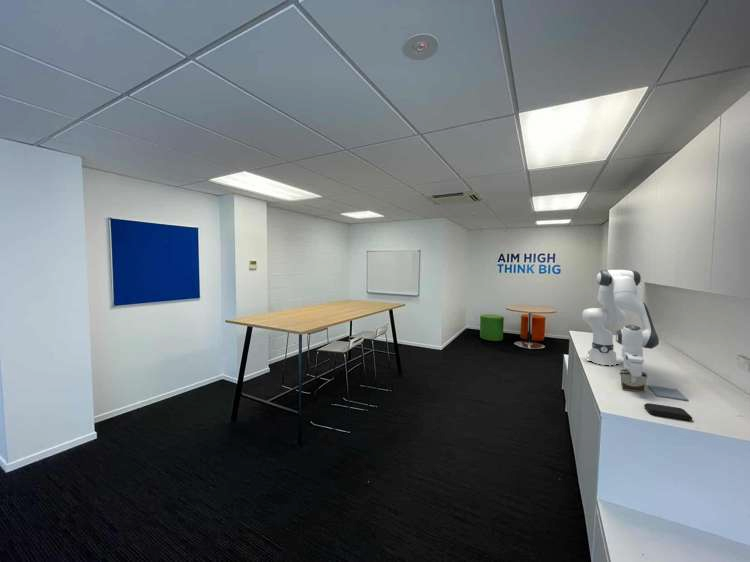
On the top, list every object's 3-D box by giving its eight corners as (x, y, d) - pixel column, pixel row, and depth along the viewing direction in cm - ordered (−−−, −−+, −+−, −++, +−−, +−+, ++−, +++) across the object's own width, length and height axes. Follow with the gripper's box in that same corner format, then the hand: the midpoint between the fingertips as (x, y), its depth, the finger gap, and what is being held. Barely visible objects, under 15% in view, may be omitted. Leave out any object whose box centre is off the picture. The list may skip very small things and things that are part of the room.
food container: (643, 388, 165) (643, 370, 164) (647, 392, 159) (648, 373, 159) (615, 385, 170) (615, 367, 169) (619, 388, 164) (619, 370, 164)
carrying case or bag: (682, 412, 138) (641, 406, 145) (683, 406, 138) (642, 400, 145) (694, 423, 128) (649, 416, 135) (694, 416, 128) (649, 409, 135)
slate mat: (647, 386, 167) (647, 384, 167) (676, 390, 161) (676, 388, 161) (656, 396, 154) (656, 395, 154) (688, 401, 148) (688, 399, 148)
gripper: (620, 349, 174) (619, 373, 174) (629, 359, 156) (628, 384, 157) (634, 351, 171) (633, 374, 171) (645, 360, 153) (644, 387, 153)
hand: (631, 379), depth 164 cm, fingers closed on food container, 5 cm apart
